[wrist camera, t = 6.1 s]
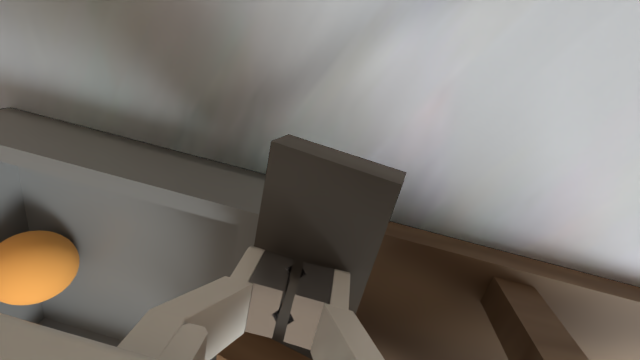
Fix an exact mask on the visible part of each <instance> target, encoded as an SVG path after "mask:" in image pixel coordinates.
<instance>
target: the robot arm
mask: <svg viewBox="0 0 640 360" xmlns="http://www.w3.org/2000/svg"><path fill="white" fill-rule="evenodd" d="M294 260H295V258H291V257H288V256H285V255H281V254H278V253H275V252H271V251H268V250H264V249H260V248H257V247H253V246H250V247H249V248H248V249H247V250H246V252H245V254H244V255H243V257H242V258H241V260H240V262H239V263H238V265H237V266H236V268H235V270H234V271H233V273H232V274H231V276H230V277H227V276H224V277H222V278H220V279H217V280H215V281H213V282H211V283H208V284H206V285H204V286H202V287H199V288H197V289H195V290H193V291H190V292H188V293H186V294H184V295H181V296H179V297H177V298H175V299H172V300H170V301H168V302H165V303H163V304H161V305H159V306H156V307H154V308H152V309H150V310H149V311H148V312H147V313H146V314H145V315H144V316H143V317H142V319H141V320H140V321H139V322H138V323H137V324H136V326H135V327H134V328H133V329H132V330H131V331H130V332H129V334H128V335H127V336H126V337H125V338H124V339H123V340H122V342H121V343H120V344H119V345H118V346H117V347H115V346H111V345H108V344H105V343H101V342H98V341H94V340H91V339H87V338H84V337H80V336H77V335H73V334H70V333H67V332H63V331H60V330H56V329H53V328H49V327H46V326H42V325H39V324H35V323H32V322H29V321H25V320H22V319H18V318H15V317H11V316H8V315H4V314H1V313H0V360H210V359H212V358H213V357H214V356H216V355H217V354H218V353H219V352H221V351H222V350H223V349H224V348H226V347H227V346H228V345H230V344H231V343H232V342H233V341H235V340H236V339H237V338H239V337H240V336H241V335H242V334H244V331H245V332H249V333H253V334H257V335H261V336H265V337H269V338H272V337H273V334H274V331H275V328H276V325H277V322H278V319H279V315H280V311H281V309H282V307H283V304H284V301H285V297H286V294H287V290H288V286H289V282H290V279H289V278H290V275H291V272H292V269H293V265H294ZM349 292H350V273H349V272H346V271H342V270H337V269H331V268H327V267H324V266H320V265H316V264H312V263H309V262H304V265H303V268H302V272H301V276H300V278H299V282H298V285H297V289H296V293H295V296H294V300H293V304H292V308H291V312H290V317H289V320H288V324H287V328H286V332H285V336H284V341H283V342H286V343H289V344H293V345H296V346H299V347H302V348H305V349H308V350H311V351H310V352H311V355H312V358H313V360H385V359H384V358H383V356H382V355H381V353H380V352H379V350H378V349H377V347H376V345H375V344H374V342H373V341H372V339H371V338H370V336H369V335H368V333H367V332H366V330H365V329H364V327H363V326H362V324H361V323H360V321H359V319H358V318H357V316H356V315H355V313H354V312H353V311H350V310H349Z"/></svg>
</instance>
